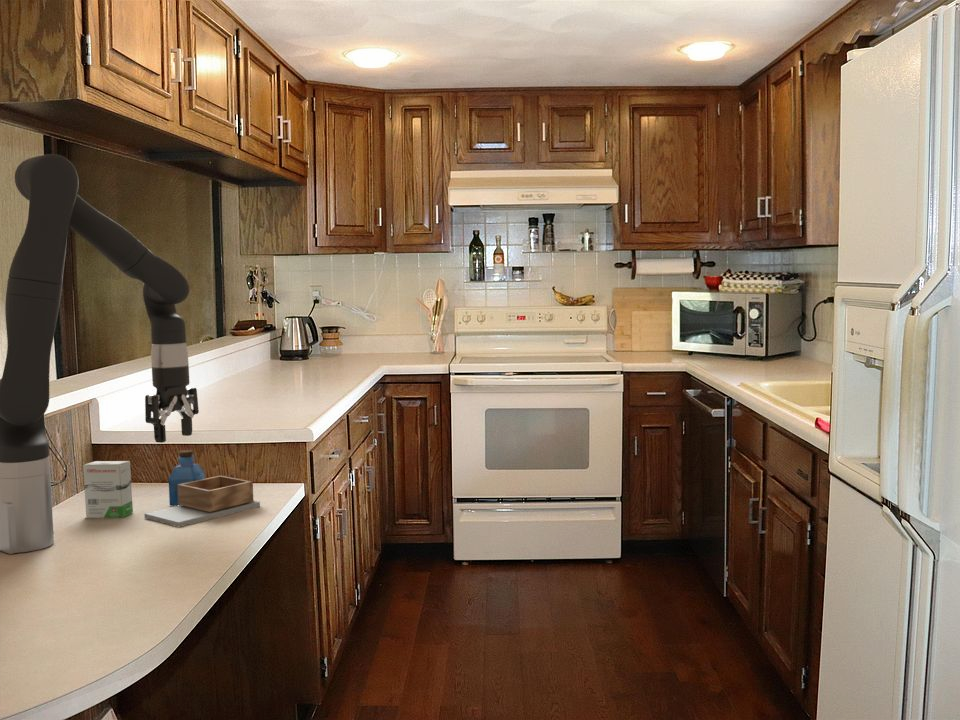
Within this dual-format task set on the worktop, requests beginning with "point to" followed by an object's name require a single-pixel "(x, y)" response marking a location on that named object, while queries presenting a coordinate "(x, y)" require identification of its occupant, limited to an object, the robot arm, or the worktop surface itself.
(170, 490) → the perfume bottle
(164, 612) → the worktop surface
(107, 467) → the ink box
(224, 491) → the box
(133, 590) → the worktop surface
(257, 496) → the worktop surface
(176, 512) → the backstop board
